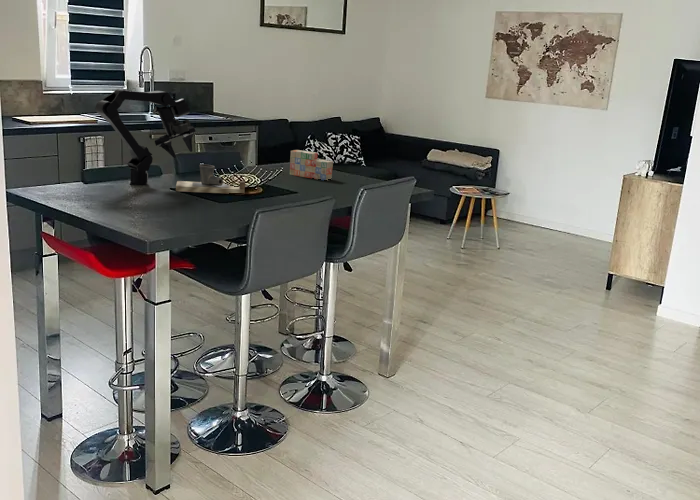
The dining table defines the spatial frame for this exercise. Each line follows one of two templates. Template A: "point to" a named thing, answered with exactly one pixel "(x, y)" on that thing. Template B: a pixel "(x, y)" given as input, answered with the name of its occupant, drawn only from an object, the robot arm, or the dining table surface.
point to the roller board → (209, 187)
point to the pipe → (209, 175)
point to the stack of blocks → (310, 165)
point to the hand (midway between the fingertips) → (183, 154)
